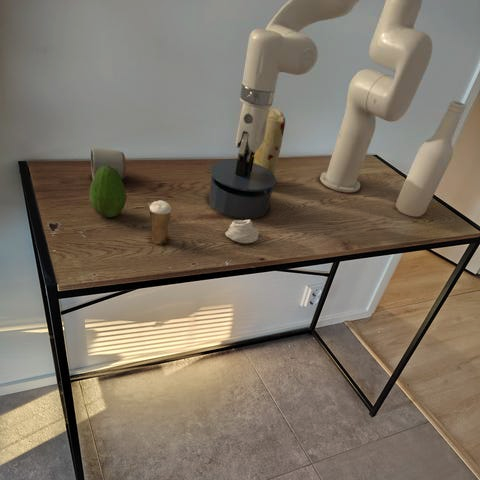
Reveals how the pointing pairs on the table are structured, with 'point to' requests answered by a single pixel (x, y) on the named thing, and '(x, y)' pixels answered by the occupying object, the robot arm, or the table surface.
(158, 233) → the milkshake
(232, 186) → the pot lid
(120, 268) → the table surface
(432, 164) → the alcohol
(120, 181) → the avocado
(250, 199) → the pot
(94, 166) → the ceramic mug
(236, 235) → the whipped cream
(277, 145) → the food model
